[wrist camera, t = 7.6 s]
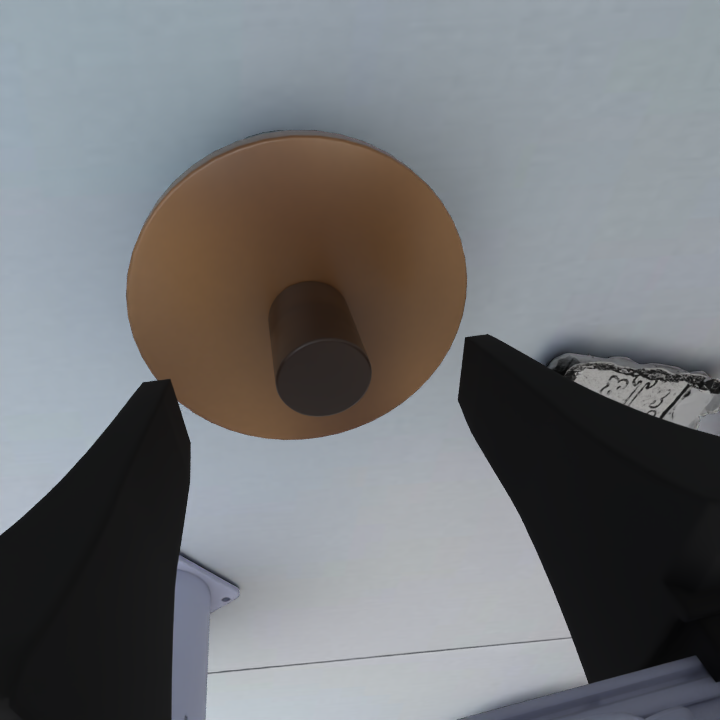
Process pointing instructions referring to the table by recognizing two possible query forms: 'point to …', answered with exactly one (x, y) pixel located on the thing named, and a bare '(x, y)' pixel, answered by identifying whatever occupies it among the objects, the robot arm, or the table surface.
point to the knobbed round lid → (296, 285)
